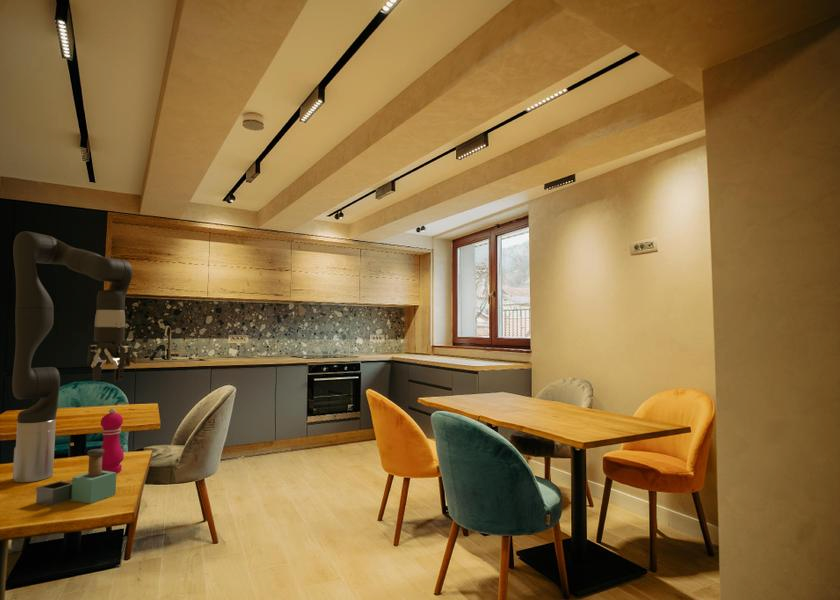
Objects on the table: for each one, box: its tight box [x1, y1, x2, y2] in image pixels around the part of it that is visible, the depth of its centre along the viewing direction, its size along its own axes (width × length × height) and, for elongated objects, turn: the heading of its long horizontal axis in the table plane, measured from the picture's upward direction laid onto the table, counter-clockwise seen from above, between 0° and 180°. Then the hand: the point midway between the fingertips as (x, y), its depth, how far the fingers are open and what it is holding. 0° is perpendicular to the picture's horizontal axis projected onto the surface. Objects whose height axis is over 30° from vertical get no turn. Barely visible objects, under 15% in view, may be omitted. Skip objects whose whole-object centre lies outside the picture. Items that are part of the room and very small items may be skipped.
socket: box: [70, 471, 117, 504], centre depth 129 cm, size 7×7×6 cm
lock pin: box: [86, 448, 104, 478], centre depth 129 cm, size 4×4×12 cm
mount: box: [35, 480, 72, 507], centre depth 126 cm, size 6×6×4 cm
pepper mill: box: [100, 407, 125, 474], centre depth 152 cm, size 7×7×20 cm
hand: (107, 380), depth 140 cm, fingers open, 8 cm apart
